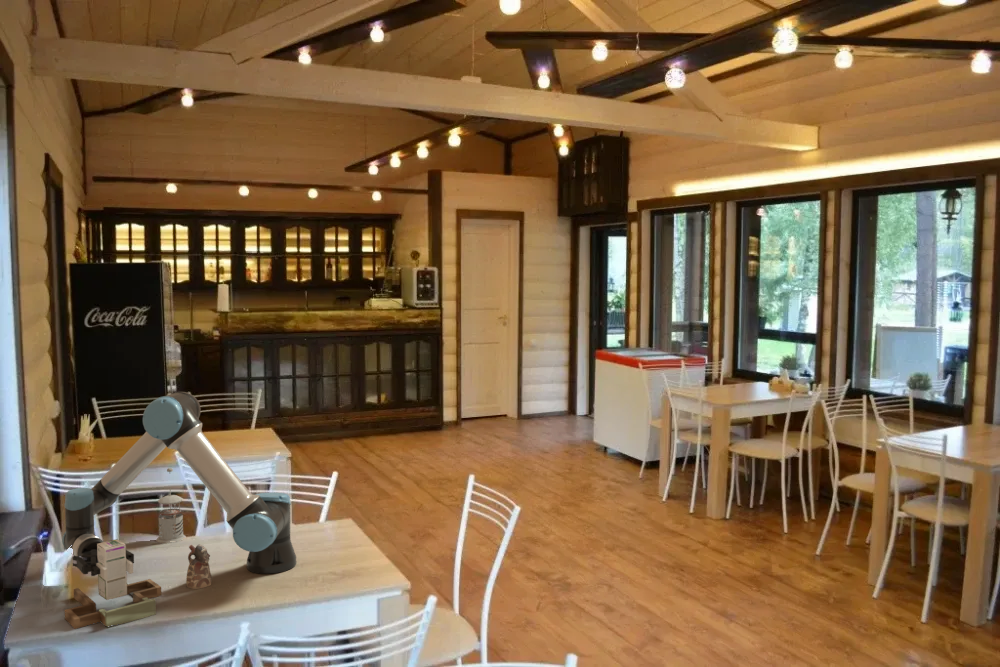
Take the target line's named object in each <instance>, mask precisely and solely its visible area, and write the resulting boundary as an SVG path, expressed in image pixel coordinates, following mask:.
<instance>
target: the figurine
mask: <svg viewBox="0 0 1000 667" xmlns="http://www.w3.org/2000/svg"><path fill="white" fill-rule="evenodd" d="M188 548H189V549H190V551H189V554H188V556H187V559H188V562H189V564H188V568H187V572H186V579H185V580H186V581H185V584H186V587H187V588H188V589H192V590H198V589H203V588H206V587H210V586H211V585H212V584H213V581H212V573H211V569H210V564H209V561H210V557H211V555H210V554H209V553H208V549H207V548H206V547H205V546H204V545H203V544H197V545H196V546H194V545H193V544H190V545H189V546H188ZM192 556H194V558H192Z"/></svg>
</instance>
